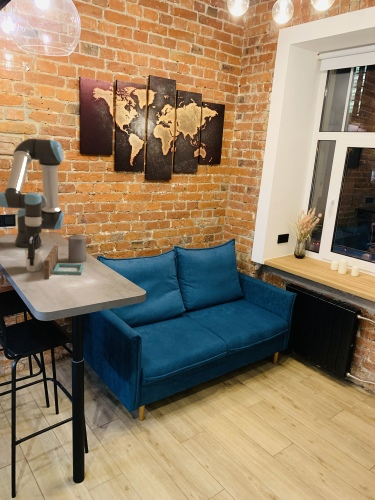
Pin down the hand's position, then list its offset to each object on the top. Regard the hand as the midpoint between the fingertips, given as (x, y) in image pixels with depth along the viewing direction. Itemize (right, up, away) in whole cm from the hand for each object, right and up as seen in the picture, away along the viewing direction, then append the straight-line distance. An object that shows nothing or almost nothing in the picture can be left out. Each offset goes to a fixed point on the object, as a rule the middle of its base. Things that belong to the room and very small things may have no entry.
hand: (34, 268), depth 188 cm
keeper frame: (+17, -1, +3) cm, 17 cm away
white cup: (0, -1, 0) cm, 1 cm away
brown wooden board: (+8, -1, +2) cm, 9 cm away
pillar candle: (+16, +3, +21) cm, 27 cm away
